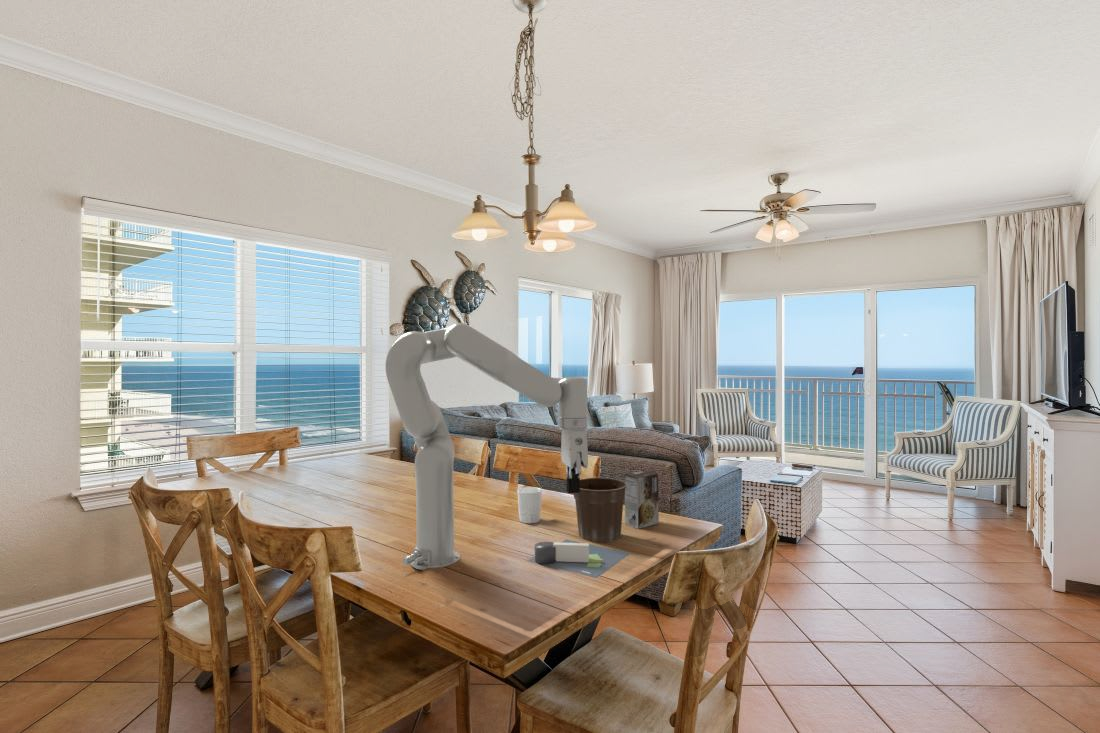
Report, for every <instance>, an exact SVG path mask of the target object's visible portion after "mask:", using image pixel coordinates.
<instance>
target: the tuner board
mask: <svg viewBox="0 0 1100 733" xmlns="http://www.w3.org/2000/svg"><path fill="white" fill-rule="evenodd" d="M561 542H563V543H582V541H581V542H580V541H576V540H571V539H567V538H566V539H564V540H562V541H561ZM630 554H631V552H628V551H623V550H618V549H613V548H608V547H605V546H604V547H603V546H599V545H595V544H590V543H589V558H591V559H603V562H591V561H589V562H565V561H555V562H553V563H548V564H543V563H538V562H536V561H535V556H533V557H531V558H529V559H528V560H527V562H531V563H535V564H539V565H543V566H547V567H552V568H554V569H559V570H562V571H567V572H571V573H574V574H579V575H583V576H587V577H589V578H590V577H591V578H595V579H598V577H600V576H601V575H603V574H604V573H605V572H607V571H608V570H609V569H611V568H613V567H614V566H615V565H616V564H618V563H619V562H621V561H622V560H623V559H625V558H626V557H628V556H629V555H630Z"/></svg>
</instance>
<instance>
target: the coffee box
mask: <svg viewBox="0 0 1100 733" xmlns="http://www.w3.org/2000/svg"><path fill="white" fill-rule="evenodd" d="M624 482H626V483H627V487H626V488H625V498H624V521H625V522H624V524H625V525H626V524H627V526H629V527H632V528H634V527H635V529H636V530H639V529H643V528H646V527H650V526H654V525H657V524H659V522H660V520H659V516H660V515H659V514H660V513H659V474H658V473H657V472H653V471H650V470H646V469H645V470H639V471H632V472H629V473H625V474H624Z"/></svg>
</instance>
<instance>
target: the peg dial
mask: <svg viewBox="0 0 1100 733" xmlns="http://www.w3.org/2000/svg"><path fill="white" fill-rule="evenodd" d="M589 544H590V543H589V542H585V543H584V542H581V543H563V542H562V541H559V542H558V541H557V542H556V541H555V542H552V541H541V542H539V541H538V542H536V543H535V544H534V557H535V561H536V562H538V563H543V564H548V563H553V562H555V561H565V562H589V561H591V562H603V559H591V558H589ZM538 563H537V564H538Z"/></svg>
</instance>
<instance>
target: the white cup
mask: <svg viewBox="0 0 1100 733" xmlns="http://www.w3.org/2000/svg"><path fill="white" fill-rule="evenodd" d="M542 494H543V490H542V488H540V487H535V486H525V487H524V486H523V487H520V488H517V505H518V518H519V519H518V520H519V522H520V523H522V524H536V523H540V521H541V512H542Z"/></svg>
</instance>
